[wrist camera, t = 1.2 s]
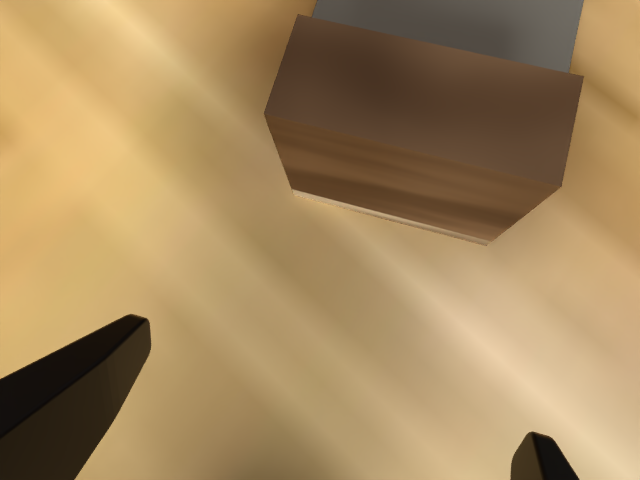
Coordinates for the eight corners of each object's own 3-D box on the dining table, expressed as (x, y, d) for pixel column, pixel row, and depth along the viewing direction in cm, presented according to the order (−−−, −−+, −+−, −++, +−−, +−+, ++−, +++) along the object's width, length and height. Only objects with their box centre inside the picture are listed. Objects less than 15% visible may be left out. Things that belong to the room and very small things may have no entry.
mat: (545, 172, 25) (548, 170, 24) (283, 109, 27) (281, 105, 26) (586, -25, 27) (590, -31, 27) (343, -72, 29) (343, -78, 29)
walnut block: (485, 246, 24) (561, 187, 16) (294, 195, 26) (263, 113, 17) (502, 172, 25) (583, 76, 16) (315, 126, 26) (297, 14, 18)
